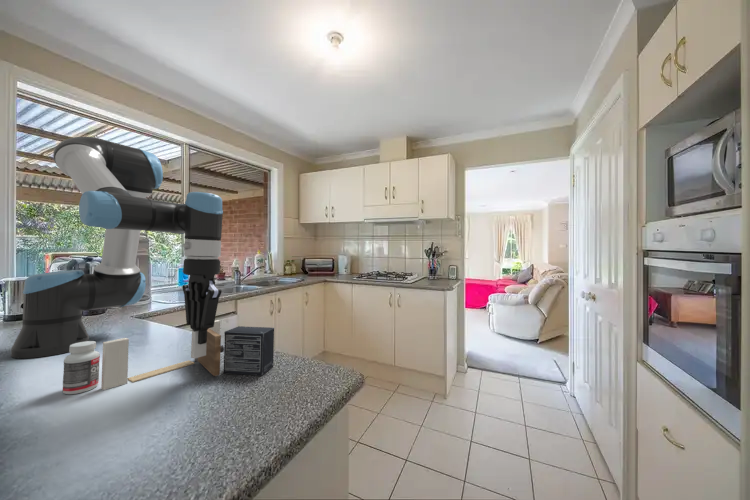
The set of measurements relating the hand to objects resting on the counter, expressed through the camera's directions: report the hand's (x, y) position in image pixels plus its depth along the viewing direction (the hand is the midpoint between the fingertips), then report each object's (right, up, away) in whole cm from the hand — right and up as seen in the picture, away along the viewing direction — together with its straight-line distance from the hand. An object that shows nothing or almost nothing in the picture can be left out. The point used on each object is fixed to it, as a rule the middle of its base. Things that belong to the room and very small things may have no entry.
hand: (198, 356), depth 67 cm
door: (0, -5, +5) cm, 7 cm away
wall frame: (-10, -5, +4) cm, 12 cm away
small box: (+10, -6, +5) cm, 13 cm away
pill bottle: (-21, -5, -6) cm, 23 cm away
